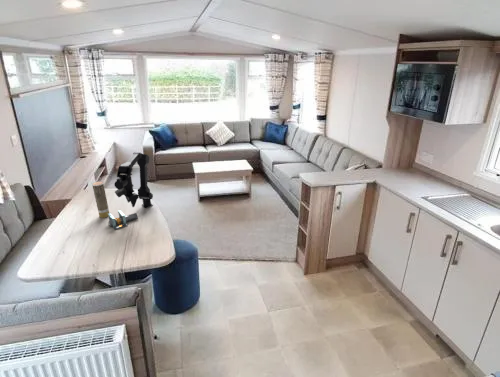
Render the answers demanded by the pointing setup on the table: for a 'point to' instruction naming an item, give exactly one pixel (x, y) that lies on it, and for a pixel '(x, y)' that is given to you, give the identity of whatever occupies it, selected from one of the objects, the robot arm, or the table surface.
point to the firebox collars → (119, 217)
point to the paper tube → (101, 199)
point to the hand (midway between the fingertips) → (131, 204)
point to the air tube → (119, 220)
